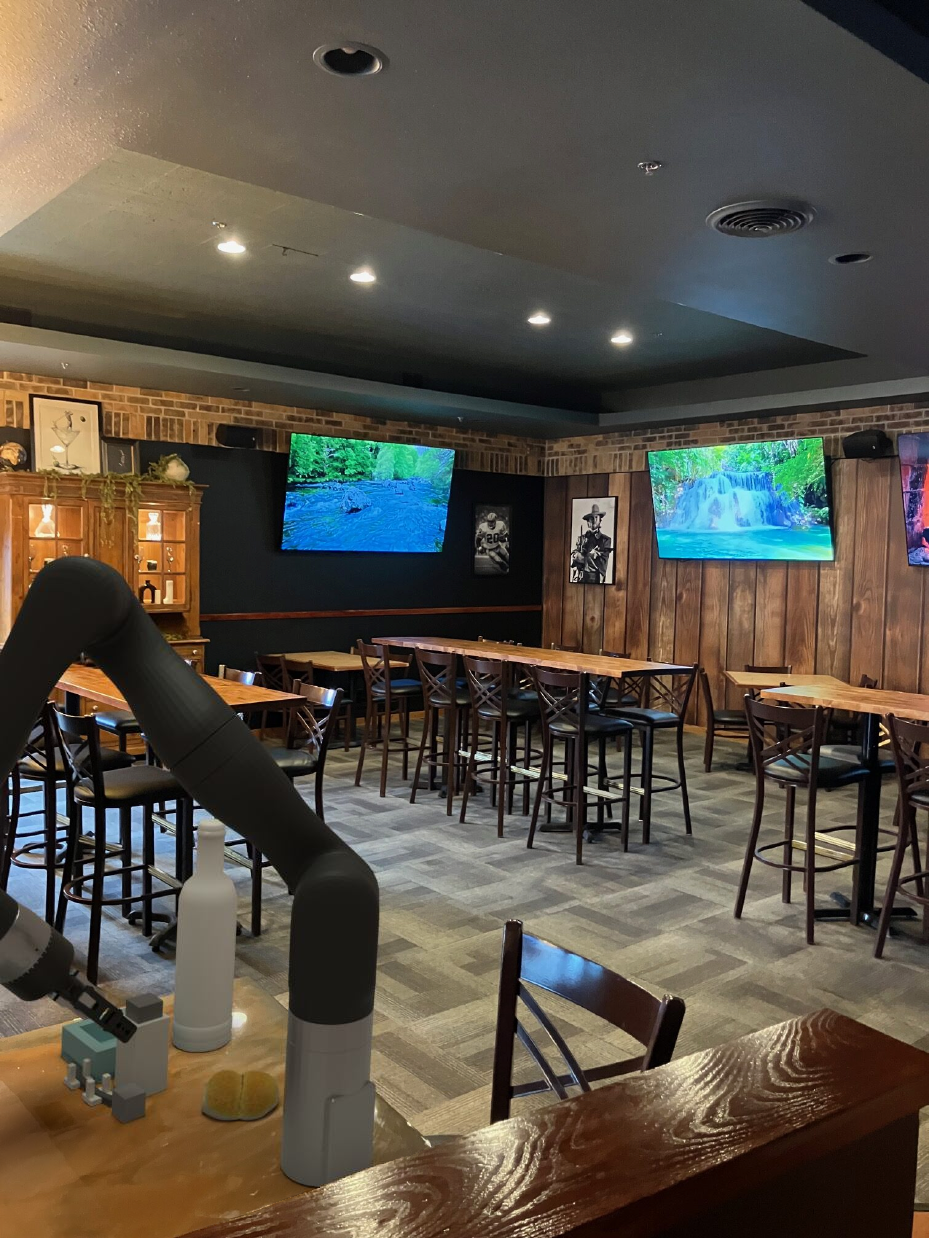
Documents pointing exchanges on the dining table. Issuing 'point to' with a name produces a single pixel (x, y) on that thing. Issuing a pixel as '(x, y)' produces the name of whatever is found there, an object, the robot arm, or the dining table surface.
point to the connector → (144, 1046)
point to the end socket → (90, 1047)
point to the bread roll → (240, 1095)
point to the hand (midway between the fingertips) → (113, 1022)
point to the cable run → (107, 1093)
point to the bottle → (205, 948)
